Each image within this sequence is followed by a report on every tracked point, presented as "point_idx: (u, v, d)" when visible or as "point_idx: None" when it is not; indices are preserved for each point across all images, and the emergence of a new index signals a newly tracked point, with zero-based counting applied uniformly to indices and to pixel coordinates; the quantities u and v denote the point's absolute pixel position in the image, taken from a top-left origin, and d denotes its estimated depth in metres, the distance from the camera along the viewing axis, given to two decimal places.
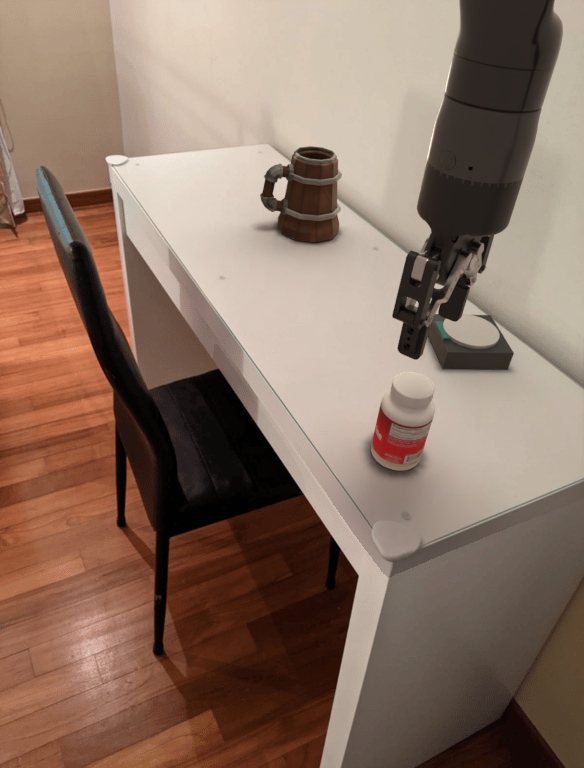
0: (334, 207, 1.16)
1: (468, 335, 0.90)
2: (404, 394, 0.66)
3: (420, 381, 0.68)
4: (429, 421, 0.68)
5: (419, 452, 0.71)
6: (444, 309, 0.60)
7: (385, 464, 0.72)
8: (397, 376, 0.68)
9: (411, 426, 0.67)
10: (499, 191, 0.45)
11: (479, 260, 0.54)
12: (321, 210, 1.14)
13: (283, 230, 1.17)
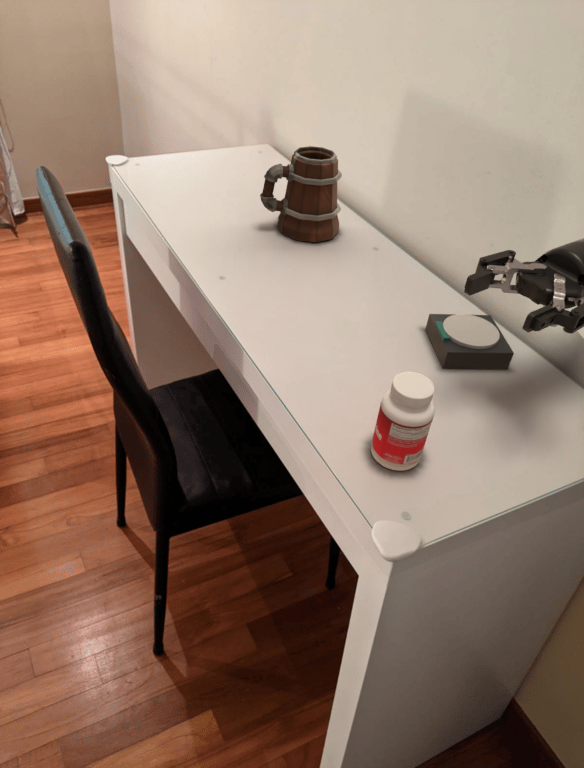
0: (334, 207, 1.16)
1: (468, 335, 0.90)
2: (404, 394, 0.66)
3: (420, 381, 0.68)
4: (429, 421, 0.68)
5: (419, 452, 0.71)
6: None
7: (385, 464, 0.72)
8: (397, 376, 0.68)
9: (411, 426, 0.67)
10: (569, 243, 0.75)
11: (561, 286, 0.69)
12: (321, 210, 1.14)
13: (283, 230, 1.17)
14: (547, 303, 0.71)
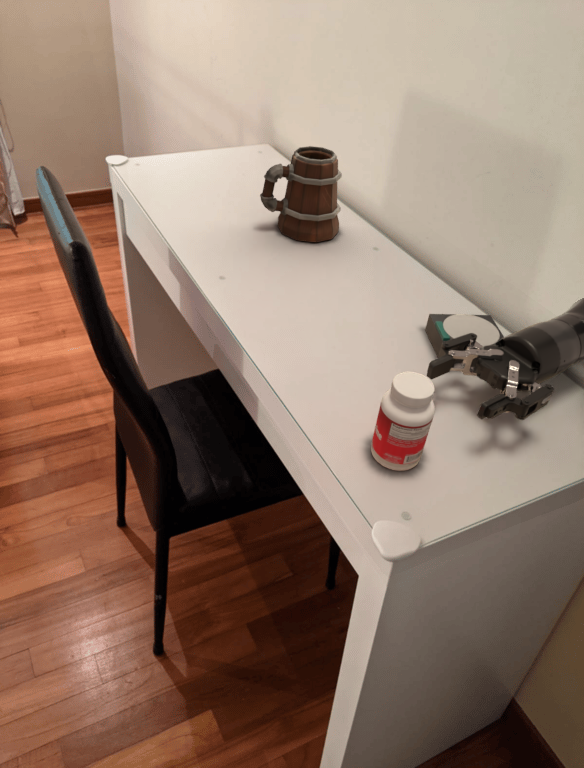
0: (334, 207, 1.16)
1: None
2: (404, 394, 0.66)
3: (420, 381, 0.68)
4: (429, 421, 0.68)
5: (419, 452, 0.71)
6: None
7: (385, 464, 0.72)
8: (397, 376, 0.68)
9: (411, 426, 0.67)
10: (526, 328, 0.81)
11: (515, 374, 0.75)
12: (321, 210, 1.14)
13: (283, 230, 1.17)
14: (502, 388, 0.76)
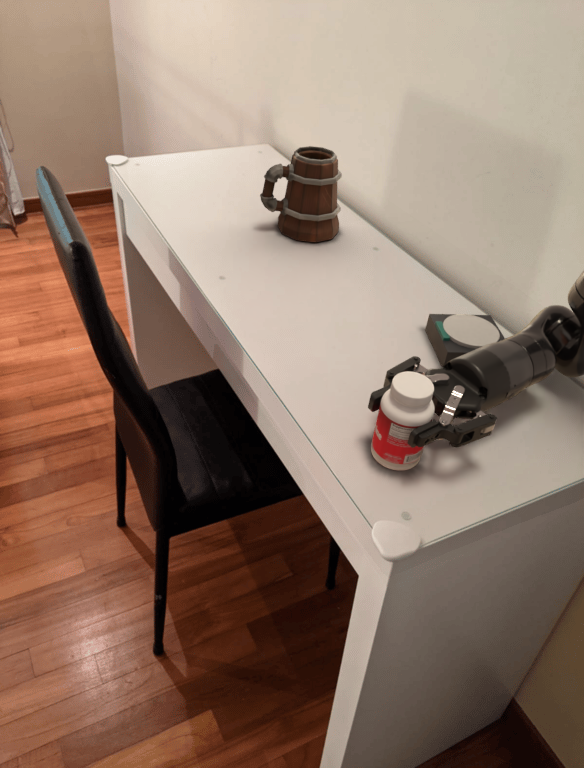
0: (334, 207, 1.16)
1: (468, 335, 0.90)
2: (404, 394, 0.66)
3: (420, 381, 0.68)
4: (429, 421, 0.68)
5: (419, 452, 0.71)
6: None
7: (385, 464, 0.72)
8: (396, 376, 0.68)
9: (410, 426, 0.67)
10: (475, 350, 0.76)
11: (456, 401, 0.70)
12: (321, 210, 1.14)
13: (283, 230, 1.17)
14: None
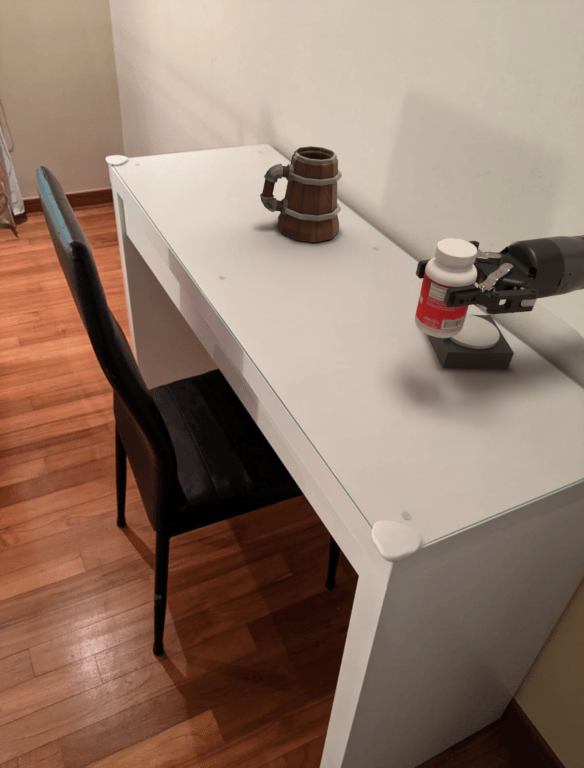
0: (334, 207, 1.16)
1: (468, 335, 0.90)
2: (445, 252, 0.70)
3: (465, 246, 0.71)
4: (468, 284, 0.71)
5: (457, 320, 0.74)
6: None
7: (424, 329, 0.76)
8: (443, 240, 0.72)
9: (448, 285, 0.71)
10: None
11: (501, 273, 0.73)
12: (321, 210, 1.14)
13: (283, 230, 1.17)
14: None
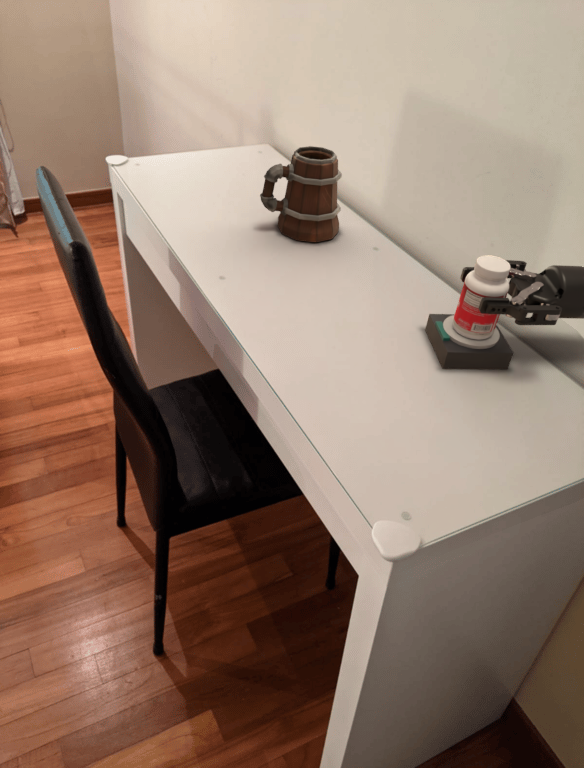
0: (334, 207, 1.16)
1: None
2: (481, 265, 0.83)
3: (500, 263, 0.84)
4: (497, 296, 0.84)
5: (486, 325, 0.87)
6: None
7: (457, 329, 0.89)
8: (484, 256, 0.85)
9: (479, 294, 0.84)
10: None
11: (531, 290, 0.84)
12: (321, 210, 1.14)
13: (283, 230, 1.17)
14: None
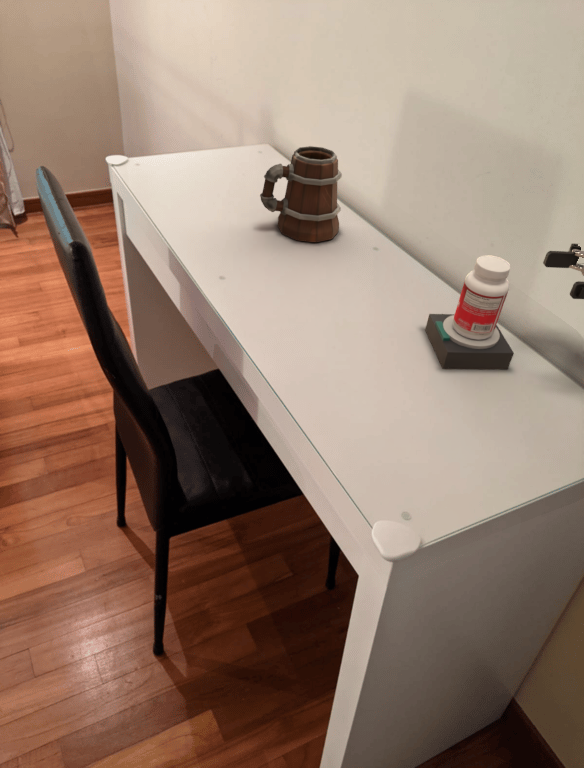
0: (334, 207, 1.16)
1: None
2: (481, 265, 0.83)
3: (500, 263, 0.84)
4: (497, 296, 0.84)
5: (486, 325, 0.87)
6: None
7: (457, 329, 0.89)
8: (484, 256, 0.85)
9: (479, 294, 0.84)
10: None
11: None
12: (321, 210, 1.14)
13: (283, 230, 1.17)
14: None
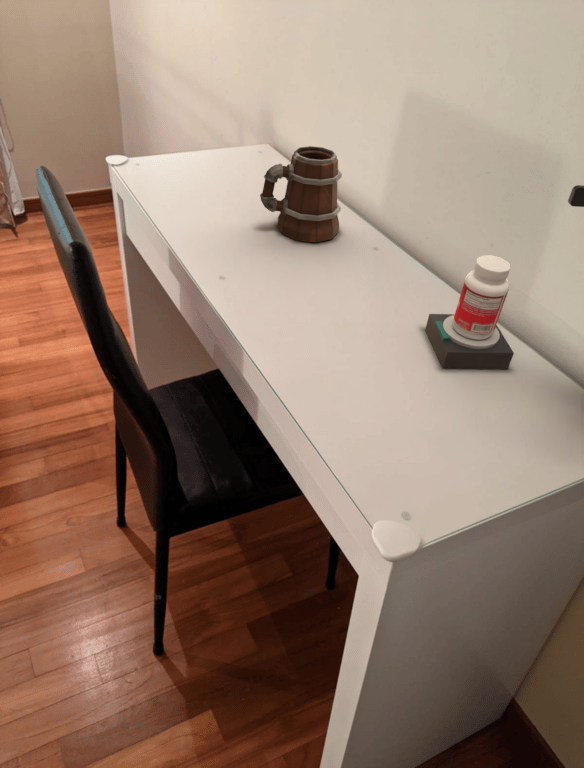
0: (334, 207, 1.16)
1: None
2: (481, 265, 0.83)
3: (500, 263, 0.84)
4: (497, 296, 0.84)
5: (486, 325, 0.87)
6: None
7: (457, 329, 0.89)
8: (484, 256, 0.85)
9: (479, 294, 0.84)
10: None
11: None
12: (321, 210, 1.14)
13: (283, 230, 1.17)
14: None
